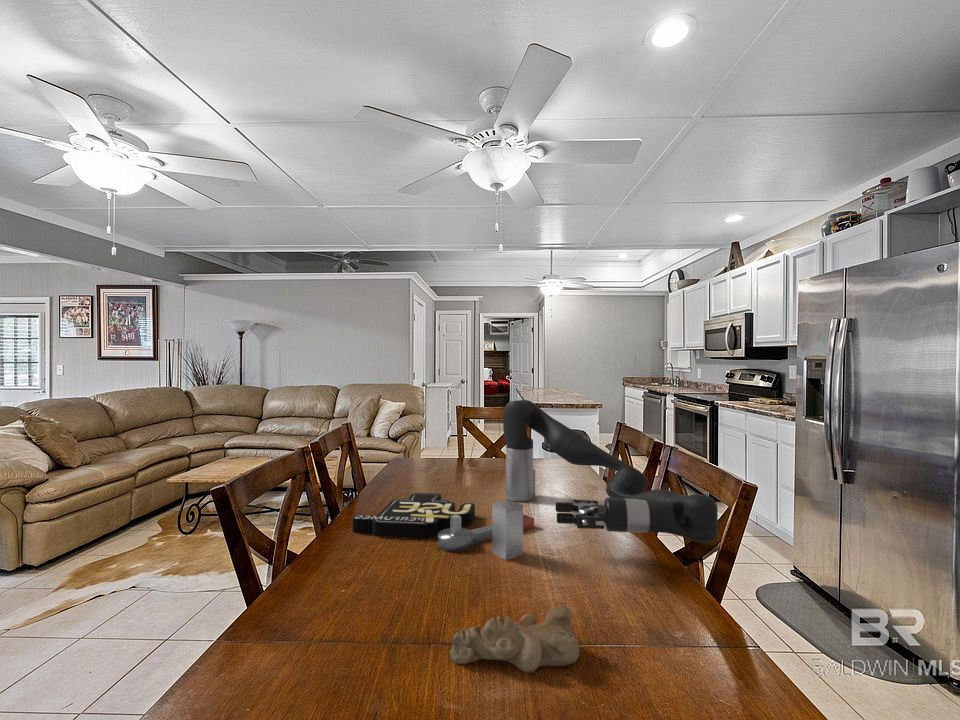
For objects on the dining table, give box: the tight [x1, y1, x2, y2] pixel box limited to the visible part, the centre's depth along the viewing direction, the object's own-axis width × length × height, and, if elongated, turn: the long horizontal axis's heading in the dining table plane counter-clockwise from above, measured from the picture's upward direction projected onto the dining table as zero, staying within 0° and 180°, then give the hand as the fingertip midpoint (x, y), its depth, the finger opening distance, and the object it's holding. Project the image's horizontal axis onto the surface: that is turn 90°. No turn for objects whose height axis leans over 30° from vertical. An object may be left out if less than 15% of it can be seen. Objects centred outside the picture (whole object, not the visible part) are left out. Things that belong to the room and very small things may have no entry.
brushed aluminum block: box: [491, 499, 524, 561], centre depth 117 cm, size 5×5×12 cm
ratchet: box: [437, 514, 535, 553], centre depth 128 cm, size 30×9×7 cm, turn 126°
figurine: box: [449, 605, 580, 674], centre depth 77 cm, size 12×8×20 cm
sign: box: [351, 492, 476, 539], centre depth 142 cm, size 32×4×30 cm
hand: (556, 512), depth 115 cm, fingers open, 8 cm apart
